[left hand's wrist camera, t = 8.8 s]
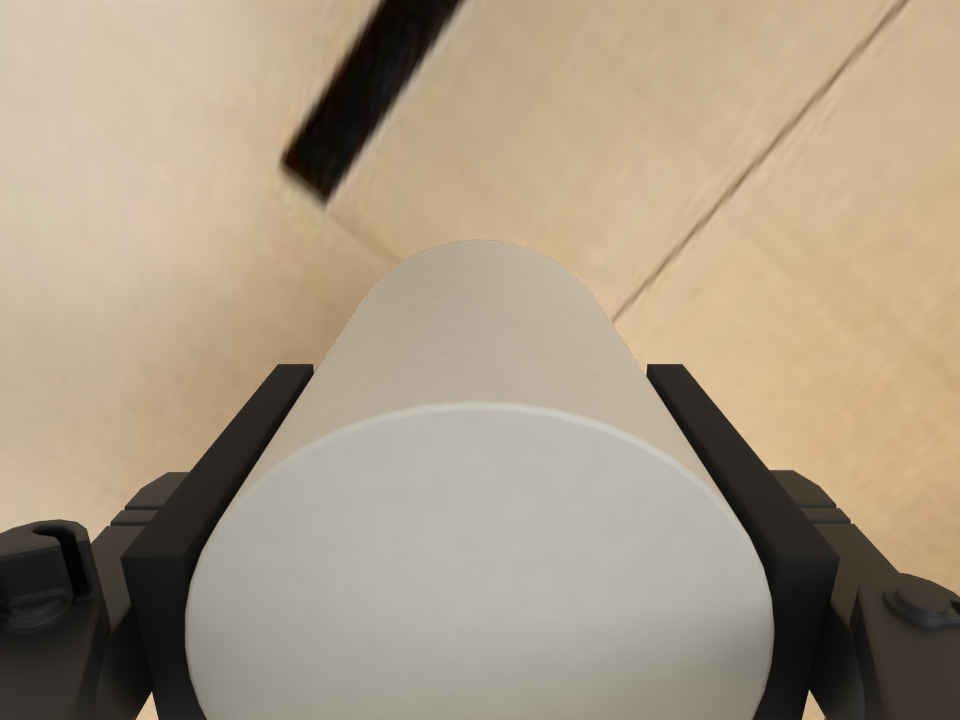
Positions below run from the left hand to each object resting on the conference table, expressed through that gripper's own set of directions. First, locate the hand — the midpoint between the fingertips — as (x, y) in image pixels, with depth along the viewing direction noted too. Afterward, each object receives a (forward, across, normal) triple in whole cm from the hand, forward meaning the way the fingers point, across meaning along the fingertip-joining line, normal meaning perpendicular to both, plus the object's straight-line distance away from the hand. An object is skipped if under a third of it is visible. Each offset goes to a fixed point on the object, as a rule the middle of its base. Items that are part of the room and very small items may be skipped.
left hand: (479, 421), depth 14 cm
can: (+3, 0, 0) cm, 3 cm away
